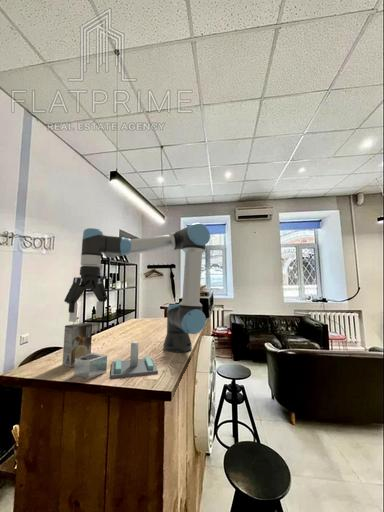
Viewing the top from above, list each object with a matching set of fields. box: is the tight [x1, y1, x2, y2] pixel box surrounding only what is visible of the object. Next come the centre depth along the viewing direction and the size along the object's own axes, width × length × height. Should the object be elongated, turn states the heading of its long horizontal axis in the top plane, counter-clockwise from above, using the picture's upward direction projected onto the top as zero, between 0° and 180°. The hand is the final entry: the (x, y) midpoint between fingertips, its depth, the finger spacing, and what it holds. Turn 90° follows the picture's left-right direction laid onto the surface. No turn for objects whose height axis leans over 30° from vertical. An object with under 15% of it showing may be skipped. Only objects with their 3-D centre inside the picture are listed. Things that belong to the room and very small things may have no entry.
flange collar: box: [73, 352, 108, 380], centre depth 87 cm, size 8×8×6 cm
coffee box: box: [61, 322, 93, 368], centre depth 99 cm, size 9×6×16 cm
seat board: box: [110, 341, 159, 379], centre depth 93 cm, size 17×16×10 cm
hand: (86, 319), depth 92 cm, fingers open, 13 cm apart
